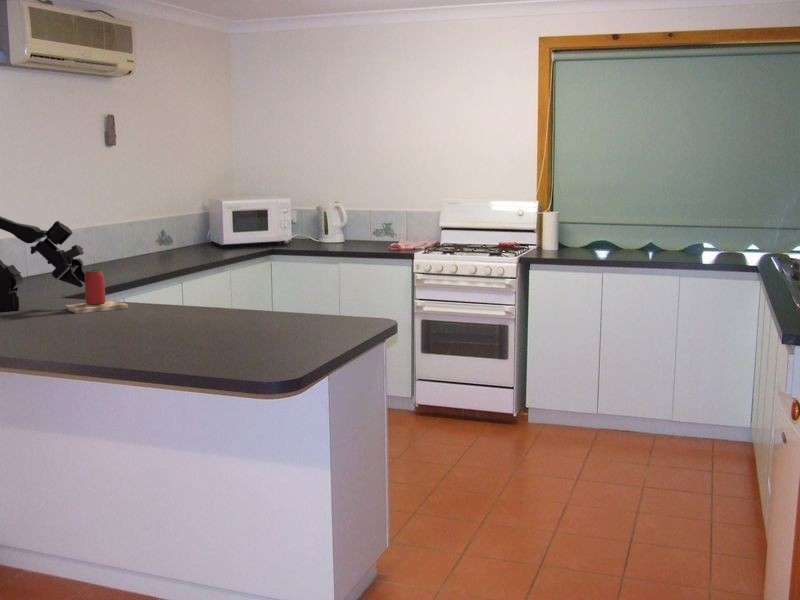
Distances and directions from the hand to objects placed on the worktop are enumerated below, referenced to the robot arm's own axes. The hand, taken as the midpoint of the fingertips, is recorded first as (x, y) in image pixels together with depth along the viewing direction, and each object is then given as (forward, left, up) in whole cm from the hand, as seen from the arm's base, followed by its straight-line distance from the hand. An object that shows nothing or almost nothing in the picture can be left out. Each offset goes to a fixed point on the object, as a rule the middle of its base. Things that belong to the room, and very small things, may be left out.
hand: (85, 284), depth 302 cm
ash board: (+3, -2, -9) cm, 9 cm away
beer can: (+3, -2, -7) cm, 8 cm away
